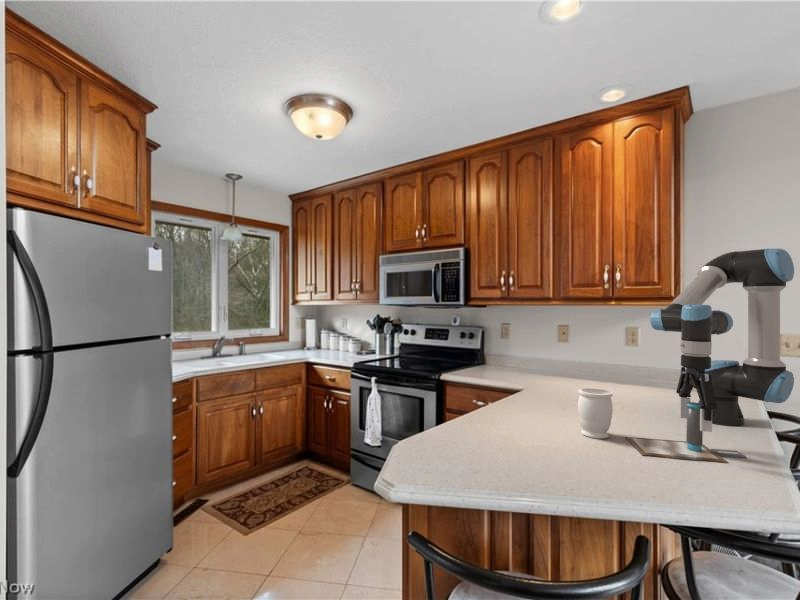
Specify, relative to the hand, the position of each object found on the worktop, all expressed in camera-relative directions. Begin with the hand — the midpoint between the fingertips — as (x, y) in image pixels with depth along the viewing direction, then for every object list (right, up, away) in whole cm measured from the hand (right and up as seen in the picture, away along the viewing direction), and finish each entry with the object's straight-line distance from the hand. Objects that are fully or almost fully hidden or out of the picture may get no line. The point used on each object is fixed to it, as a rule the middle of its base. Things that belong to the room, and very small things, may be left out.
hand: (694, 424), depth 126 cm
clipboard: (-6, -8, +1) cm, 10 cm away
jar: (-24, -8, +14) cm, 29 cm away
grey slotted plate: (+9, -8, -2) cm, 12 cm away
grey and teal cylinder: (0, -8, 0) cm, 8 cm away
